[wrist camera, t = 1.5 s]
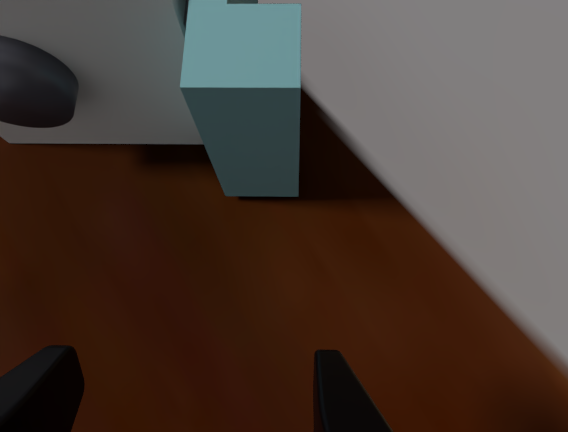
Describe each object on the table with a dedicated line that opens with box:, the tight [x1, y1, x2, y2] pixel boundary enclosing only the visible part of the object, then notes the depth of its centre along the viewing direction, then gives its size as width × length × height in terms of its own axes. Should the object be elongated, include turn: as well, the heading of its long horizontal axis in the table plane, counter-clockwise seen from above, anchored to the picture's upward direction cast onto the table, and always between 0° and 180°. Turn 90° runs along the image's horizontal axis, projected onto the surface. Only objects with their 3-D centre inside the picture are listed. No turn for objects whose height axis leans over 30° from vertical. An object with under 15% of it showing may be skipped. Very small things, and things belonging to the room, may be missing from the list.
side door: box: [180, 0, 301, 197], centre depth 19 cm, size 11×4×9 cm, turn 179°
